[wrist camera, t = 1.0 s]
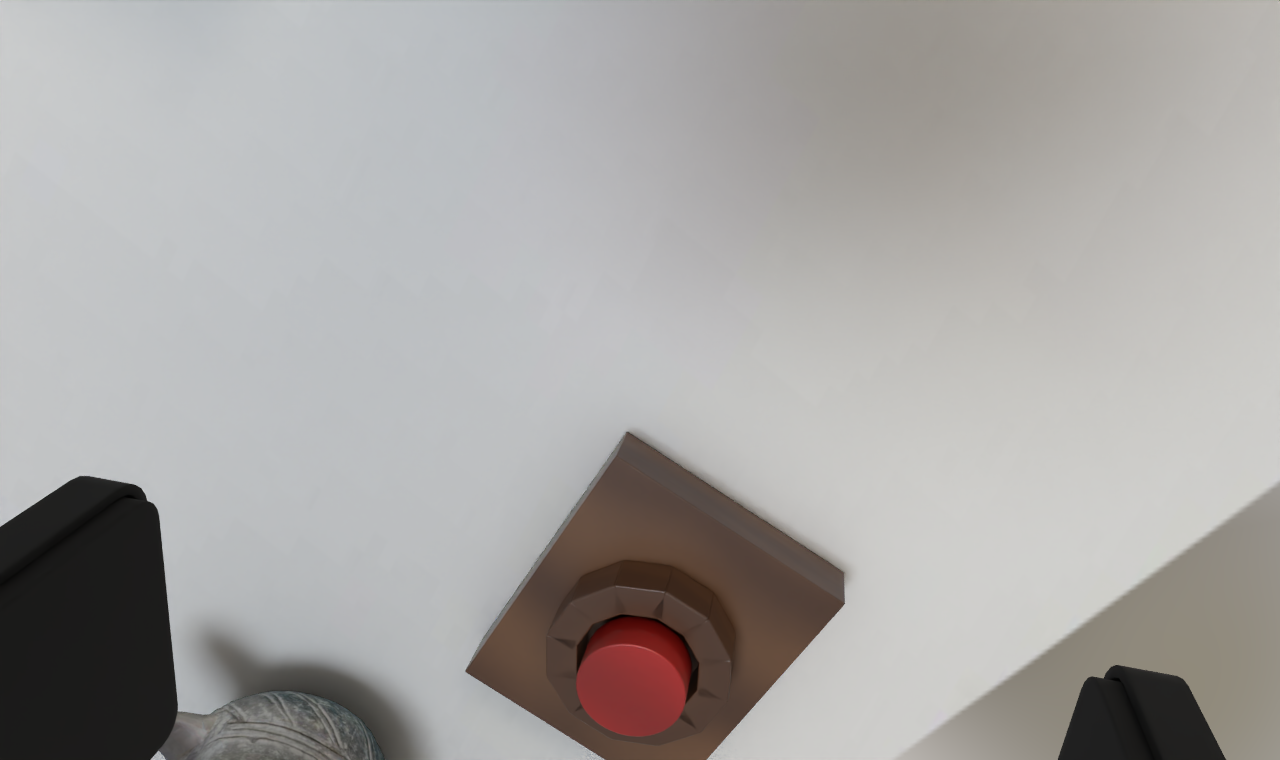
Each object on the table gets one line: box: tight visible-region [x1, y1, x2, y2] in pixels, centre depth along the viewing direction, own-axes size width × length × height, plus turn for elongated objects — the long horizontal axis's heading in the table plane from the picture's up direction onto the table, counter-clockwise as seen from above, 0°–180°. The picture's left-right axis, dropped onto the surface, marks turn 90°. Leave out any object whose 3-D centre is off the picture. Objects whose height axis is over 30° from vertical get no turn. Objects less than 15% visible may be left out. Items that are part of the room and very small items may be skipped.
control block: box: [466, 432, 845, 760], centre depth 39 cm, size 12×10×4 cm
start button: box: [576, 616, 692, 737], centre depth 37 cm, size 4×4×2 cm
